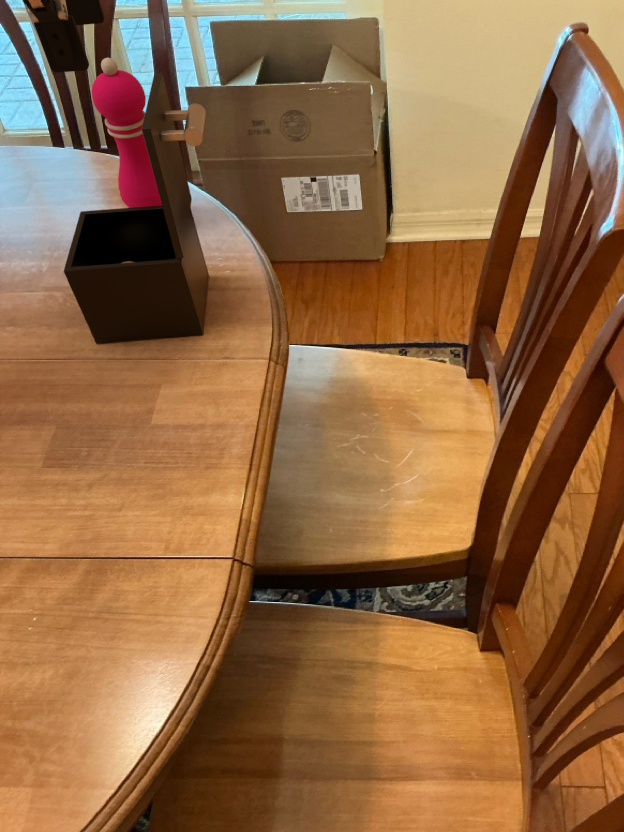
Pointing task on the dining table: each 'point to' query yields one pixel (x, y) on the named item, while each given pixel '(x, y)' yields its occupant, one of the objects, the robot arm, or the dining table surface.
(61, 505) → the dining table surface
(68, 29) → the robot arm
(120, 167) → the pepper mill
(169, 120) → the bin lid
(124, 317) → the waste bin
